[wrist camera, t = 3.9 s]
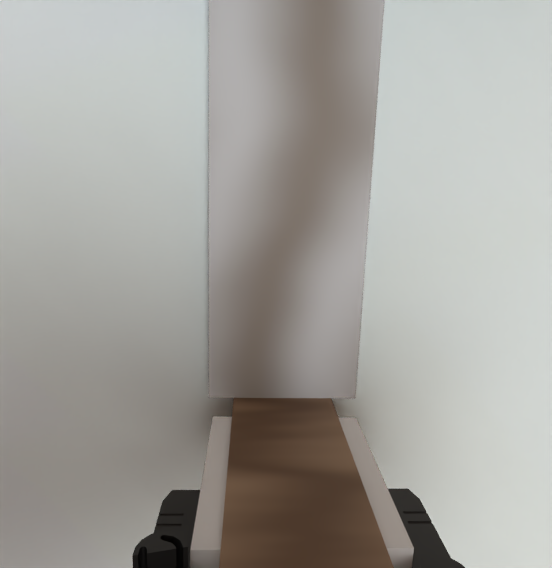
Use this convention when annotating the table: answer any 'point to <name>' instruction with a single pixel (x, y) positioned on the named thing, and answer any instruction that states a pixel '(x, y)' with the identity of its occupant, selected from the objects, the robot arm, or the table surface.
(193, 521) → the robot arm
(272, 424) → the wooden block bookend
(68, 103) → the table surface
